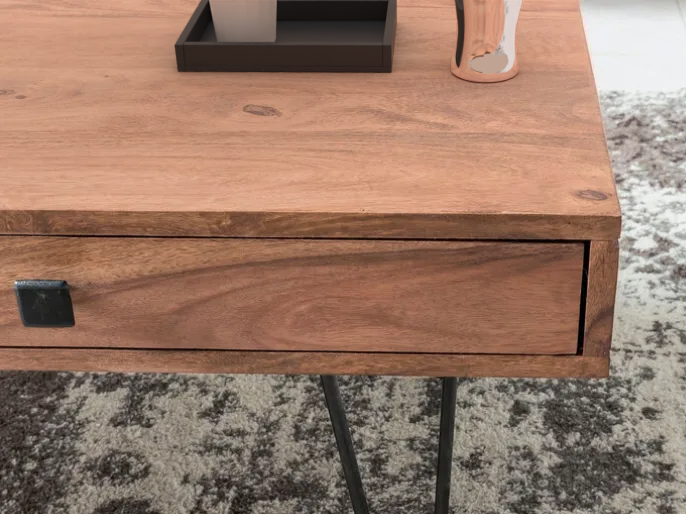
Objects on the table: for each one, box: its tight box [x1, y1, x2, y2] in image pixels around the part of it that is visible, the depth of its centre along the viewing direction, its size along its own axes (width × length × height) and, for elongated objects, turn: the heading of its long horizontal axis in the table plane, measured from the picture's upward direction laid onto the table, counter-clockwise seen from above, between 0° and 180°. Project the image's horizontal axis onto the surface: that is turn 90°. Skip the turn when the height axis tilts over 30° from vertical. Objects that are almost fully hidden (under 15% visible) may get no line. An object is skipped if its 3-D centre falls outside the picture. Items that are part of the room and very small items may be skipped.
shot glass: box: [209, 0, 277, 42], centre depth 99 cm, size 7×7×7 cm
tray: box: [174, 0, 398, 73], centre depth 100 cm, size 20×14×2 cm
